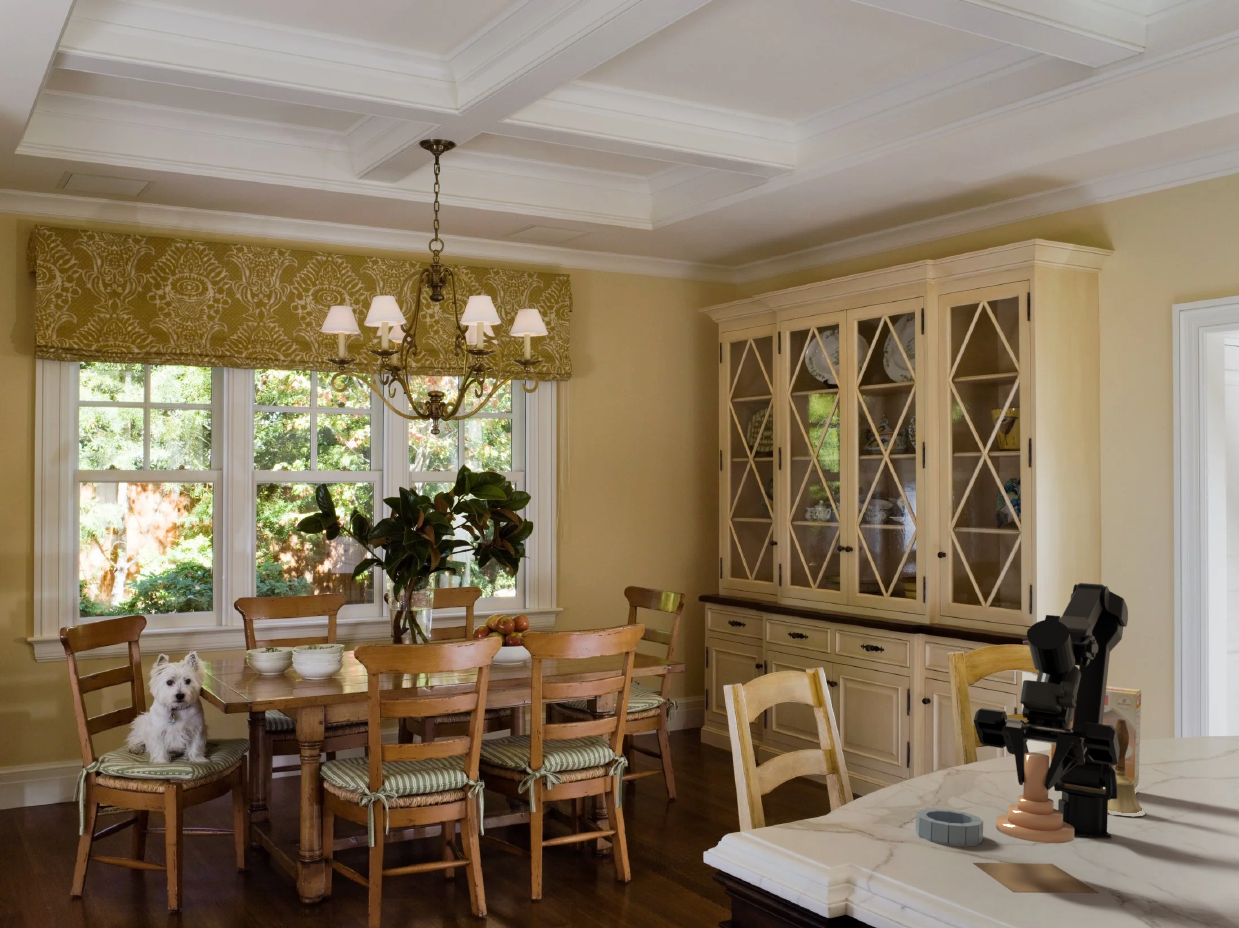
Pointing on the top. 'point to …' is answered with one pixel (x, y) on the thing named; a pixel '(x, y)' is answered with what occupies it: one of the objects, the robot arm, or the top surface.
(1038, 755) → the lid
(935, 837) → the blue-grey faceted ring
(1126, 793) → the hand bell
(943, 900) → the top surface
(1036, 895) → the top surface
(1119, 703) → the coffeecake box
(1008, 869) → the plate
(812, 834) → the top surface
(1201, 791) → the top surface
